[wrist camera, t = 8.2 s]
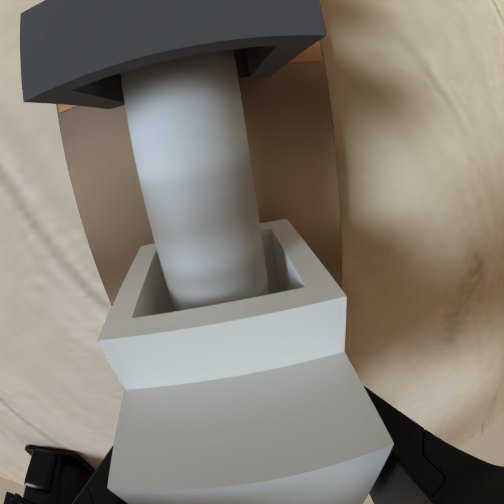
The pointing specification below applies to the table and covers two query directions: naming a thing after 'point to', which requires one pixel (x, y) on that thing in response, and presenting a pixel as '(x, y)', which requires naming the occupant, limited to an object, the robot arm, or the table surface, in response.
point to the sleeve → (241, 390)
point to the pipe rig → (206, 173)
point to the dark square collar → (152, 41)
